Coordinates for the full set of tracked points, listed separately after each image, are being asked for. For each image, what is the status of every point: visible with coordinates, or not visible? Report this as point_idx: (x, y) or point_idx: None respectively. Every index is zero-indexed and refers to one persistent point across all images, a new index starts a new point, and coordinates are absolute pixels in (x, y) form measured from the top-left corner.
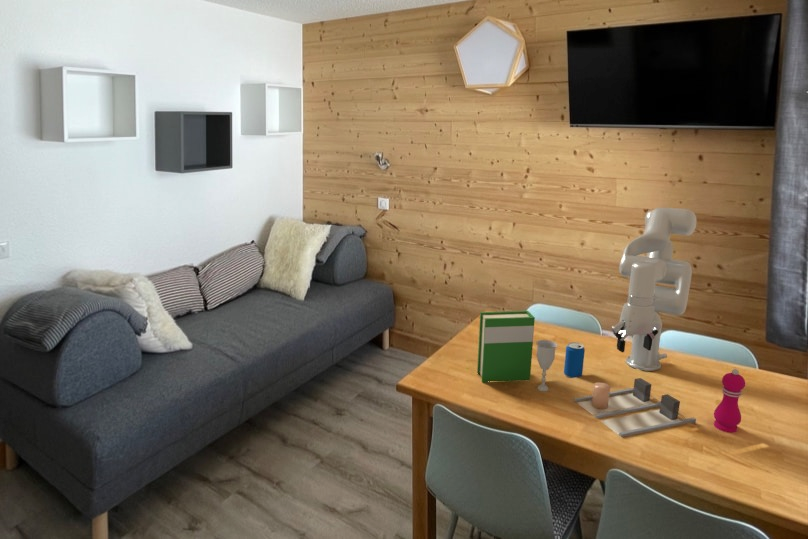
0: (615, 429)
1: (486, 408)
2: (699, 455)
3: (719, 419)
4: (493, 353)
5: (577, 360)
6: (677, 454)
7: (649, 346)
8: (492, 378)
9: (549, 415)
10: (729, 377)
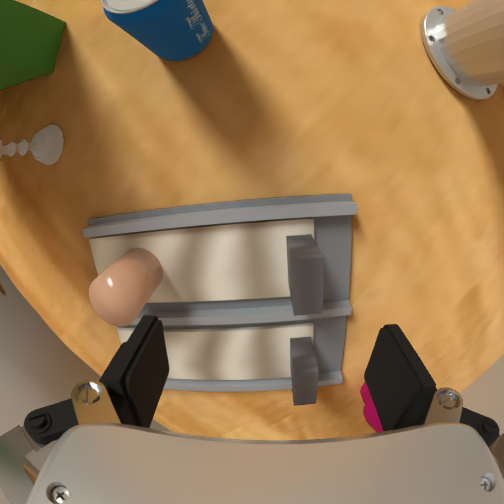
0: None
1: None
2: (259, 428)
3: (364, 412)
4: None
5: (146, 38)
6: (223, 421)
7: (373, 396)
8: None
9: (38, 258)
10: None
